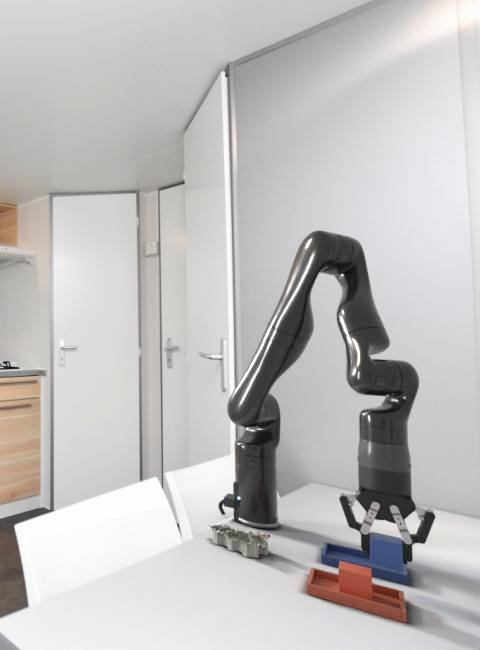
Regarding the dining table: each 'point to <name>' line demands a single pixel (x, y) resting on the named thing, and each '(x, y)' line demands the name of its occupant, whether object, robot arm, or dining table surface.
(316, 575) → the terracotta tray
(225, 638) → the dining table surface
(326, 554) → the blue tray
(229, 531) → the egg carton
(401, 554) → the blue block
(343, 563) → the terracotta block
